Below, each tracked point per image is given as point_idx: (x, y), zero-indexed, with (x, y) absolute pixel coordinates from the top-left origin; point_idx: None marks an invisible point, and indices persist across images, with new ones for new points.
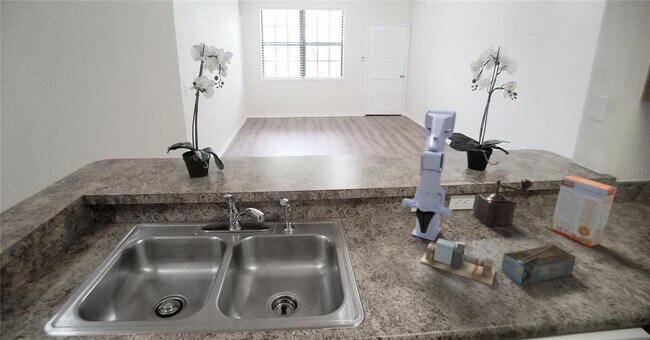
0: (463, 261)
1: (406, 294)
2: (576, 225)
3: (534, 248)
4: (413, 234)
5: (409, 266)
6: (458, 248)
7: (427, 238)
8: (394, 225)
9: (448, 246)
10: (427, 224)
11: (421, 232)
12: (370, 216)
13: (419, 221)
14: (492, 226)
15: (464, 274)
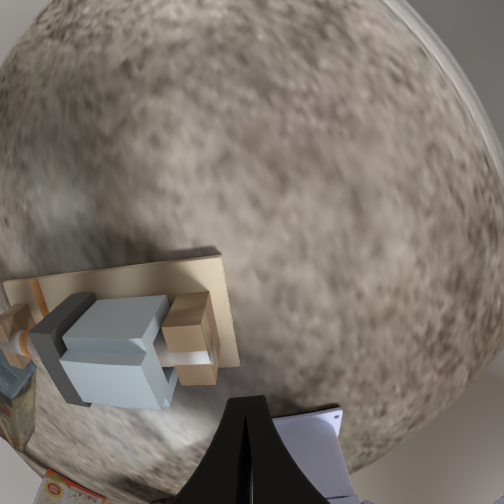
0: None
1: (169, 8)
2: (64, 498)
3: (16, 436)
4: (333, 410)
5: (247, 182)
6: (59, 369)
7: (277, 419)
8: (404, 406)
9: (80, 359)
10: (195, 472)
11: (257, 397)
12: (468, 386)
13: (292, 476)
14: (171, 498)
15: (51, 278)
